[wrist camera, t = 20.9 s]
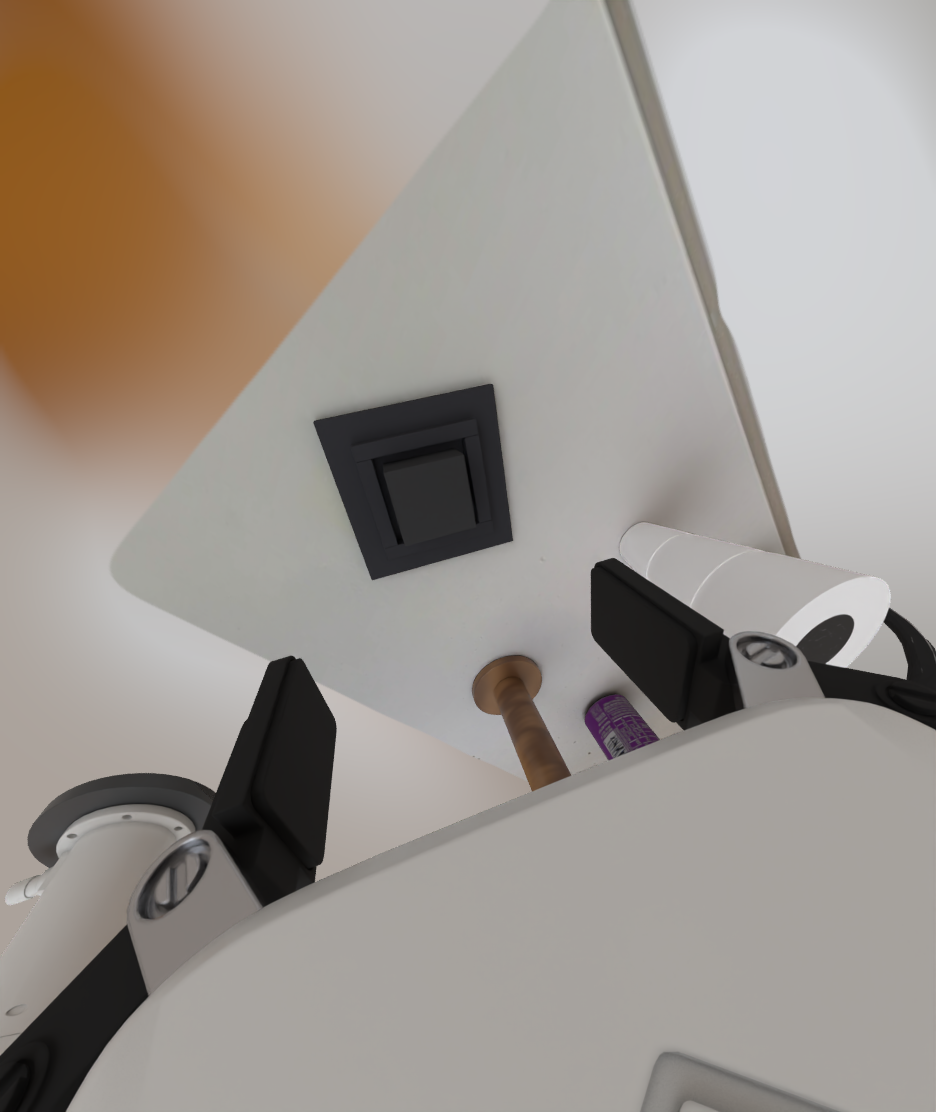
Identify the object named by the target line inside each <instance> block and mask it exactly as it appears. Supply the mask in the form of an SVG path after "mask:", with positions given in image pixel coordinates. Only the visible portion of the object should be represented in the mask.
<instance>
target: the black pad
mask: <svg viewBox="0 0 936 1112" xmlns="http://www.w3.org/2000/svg"><path fill="white" fill-rule="evenodd" d="M383 472H384V476H385V480H386V483H387V486H388V490H389V493H390V497H391V500H392V504H393V507H394V510H395V514H396V517H397V521H398V524H399V528H400V531H401V534H402V538H403V541H404V545H405V546H408V545H412V544H416V543H419V542H423V541H427V540H431V539H435V538H438V537H442V536H446V535H450V534H454V533H457V532H461V531H465V530H469V529H473V528H476V522H475V516H474V511H473V505H472V499H471V493H470V488H469V482H468V476H467V470H466V465H465V459H464V455H463V454H462V453H461V452H459V451H458V450H456V449H455V448H450V449H446V450H441V451H437V452H433V453H428V454H424V455H419V456H415V457H410V458H406V459H402V460H397V461H393V462H388V463H384V464H383Z"/></svg>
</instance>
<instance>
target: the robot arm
mask: <svg viewBox="0 0 936 1112" xmlns="http://www.w3.org/2000/svg"><path fill="white" fill-rule="evenodd" d="M591 633H592V636H593V638H594V640H595V641H596V642H597V643H598V645H599V646H600V647H601V648H602V649H603V650H604V651H605V652H606V653H607V654H608V655H609V656H610V657H611V659H612V660H613V661H614V662H615V663H616V664H617V665H618V666H619V667H620V668H621V669H622V670H623V671H624V673H625V674H626V675H627V676H628V677H629V678H630V679H631V680H632V681H633V682H634V683H635V684H636V685H637V687H638V688H639V689H640V690H641V691H642V692H643V693H644V694H645V695H646V696H647V697H648V698H649V699H650V701H651V702H652V703H653V704H654V705H655V706H656V707H657V708H658V709H659V710H660V711H661V712H662V713H663V715H664V716H665V717H666V718H667V719H668V720H669V721H671V722H677V724H678V725H679V726H680V727H681V728H682V729H683V730H684V731H682V732H679V733H676V734H674V735H671V736H669V737H666V738H664V739H661V740H659V741H656V742H654V743H651V744H649V745H646V746H644V747H641V748H639V749H636V750H634V751H631V752H629V753H626V754H624V755H621V756H619V757H616V758H614V759H611V760H609V761H606V762H604V763H601V764H599V765H596V766H594V767H591V768H589V769H586V770H584V771H581V772H579V773H577V774H574V775H572V776H569V777H567V778H564V779H562V780H559V781H557V782H554V783H552V784H549V785H547V786H544V787H542V788H540V789H537V790H535V791H532V792H530V793H527V794H525V795H523V796H520V797H517V798H515V799H513V800H510V801H508V802H505V803H503V804H500V805H498V806H496V807H493V808H491V809H488V810H486V811H483V812H481V813H478V814H476V815H474V816H471V817H469V818H466V819H464V820H461V821H459V822H456V823H454V824H452V825H449V826H447V827H444V828H442V829H439V830H437V831H435V832H432V833H430V834H427V835H425V836H422V837H420V838H418V839H415V840H413V841H411V842H408V843H406V844H403V845H401V846H398V847H396V848H393V849H391V850H389V851H386V852H384V853H381V854H379V855H377V856H374V857H372V858H370V859H367V860H365V861H363V862H360V863H358V864H356V865H354V866H352V867H349V868H347V869H345V870H342V871H340V872H337V873H335V874H333V875H331V876H328V877H326V878H324V879H321V880H319V881H317V882H315V874H316V866H317V865H320V864H321V863H322V861H323V857H324V850H325V840H326V830H327V820H328V810H329V801H330V789H331V780H332V771H333V761H334V751H335V741H336V729H337V728H336V721H335V718H334V716H333V714H332V713H331V711H330V709H329V707H328V706H327V704H326V702H325V700H324V698H323V696H322V694H321V692H320V691H319V689H318V687H317V685H316V683H315V681H314V680H313V678H312V676H311V674H310V672H309V670H308V669H307V667H306V665H305V663H304V661H303V660H302V659H301V658H299V659H296V658H295V657H294V656H288V657H285V658H282V659H278V660H275V661H272V662H270V663H269V665H268V667H267V670H266V672H265V675H264V677H263V680H262V683H261V685H260V688H259V691H258V693H257V696H256V698H255V701H254V704H253V706H252V709H251V712H250V714H249V717H248V719H247V720H246V721H245V722H244V724H243V726H242V728H241V730H240V733H239V736H238V738H237V741H236V743H235V746H234V748H233V751H232V754H231V757H230V759H229V761H228V764H227V766H226V769H225V772H224V774H223V777H222V779H221V782H220V785H219V787H218V790H217V792H216V795H215V797H214V800H213V802H212V805H211V808H210V810H209V813H208V815H207V818H206V820H205V823H204V826H203V828H202V830H199V831H196V832H195V826H194V824H193V822H192V821H191V820H190V819H189V818H188V817H187V816H186V815H184V814H182V813H181V812H179V811H176V810H174V809H171V808H168V807H164V806H159V805H151V804H127V805H118V806H112V807H108V808H104V809H100V810H97V811H94V812H92V813H89V814H87V815H85V816H83V817H81V818H79V819H78V820H76V821H75V822H73V823H72V824H71V825H70V826H69V827H68V828H67V829H66V831H65V832H64V833H63V835H62V836H61V837H60V839H59V841H58V843H57V847H56V852H57V855H58V858H59V859H58V861H57V862H56V864H55V865H54V867H51V868H49V869H48V870H46V871H45V872H44V873H43V874H42V875H38V876H34V877H31V878H29V879H26V880H23V881H20V882H17V883H15V884H14V885H13V886H12V887H11V888H10V889H9V890H8V892H7V894H6V897H5V901H6V903H7V904H8V905H14V904H17V903H20V902H23V901H25V900H28V899H31V898H33V897H35V896H36V895H39V896H40V898H39V900H38V901H37V903H36V904H35V905H34V907H33V909H32V910H31V912H30V913H29V915H28V916H27V918H26V919H25V921H24V922H23V924H22V925H21V927H20V928H19V930H18V931H17V933H16V934H15V936H14V937H13V939H12V940H11V942H10V943H9V945H8V946H7V948H6V949H5V951H4V953H3V954H2V955H1V957H0V1112H936V691H935V690H933V689H931V688H929V687H926V686H924V685H921V684H918V683H916V682H913V681H909V680H905V679H900V678H896V677H891V676H886V675H880V674H875V673H870V672H865V671H859V670H853V669H849V668H844V667H838V666H833V665H828V664H822V663H817V662H812V661H807V660H806V658H805V656H804V655H803V653H802V652H801V651H800V650H799V649H798V648H797V647H796V646H794V645H793V644H792V643H790V642H788V641H786V640H784V639H782V638H780V637H777V636H774V635H772V634H768V633H763V632H756V631H745V632H739V633H737V634H735V635H733V636H732V637H731V638H729V637H727V636H726V635H724V634H723V633H724V629H722V628H721V627H719V626H718V625H716V624H715V623H713V622H712V621H710V620H709V619H707V618H705V617H704V616H702V615H701V614H699V613H698V612H696V611H695V610H693V609H692V608H690V607H689V606H687V605H686V604H684V603H682V602H681V601H679V600H678V599H676V598H675V597H673V596H672V595H670V594H669V593H667V592H666V591H664V590H663V589H661V588H660V587H658V586H656V585H655V584H653V583H652V582H650V581H649V580H647V579H646V578H644V577H643V576H641V575H640V574H638V573H637V572H635V571H634V570H632V569H630V568H629V567H627V566H626V565H624V564H623V563H621V562H620V561H618V560H617V559H615V558H611V559H607V560H604V561H601V562H597V563H596V564H595V566H594V568H593V569H592V570H591Z"/></svg>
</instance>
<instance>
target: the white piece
mask: <svg viewBox="0 0 936 1112" xmlns="http://www.w3.org/2000/svg"><path fill="white" fill-rule="evenodd" d="M619 551H620V555H621V556H622V558H623V559H624V560H625V561H626V562H627V563H628V564H629V565H630V566H631V567H632V568H633V569H634V570H635V571H636V572H637V573H638V574H640V575H641V576H643V577H644V578H646V579H647V580H649V581H650V582H652V583H653V584H655V585H656V586H658V587H660V588H661V589H663V590H664V591H666V592H667V593H669V594H670V595H672V596H673V597H675V598H676V599H678V600H679V601H681V602H682V603H684V604H686V605H687V606H689V607H690V608H692V609H693V610H695V611H696V612H698V613H699V614H701V615H702V616H704V617H705V618H707V619H709V620H710V621H712V622H713V623H715V624H716V625H718V626H719V627H721V628H722V629H724V633H723V634H724V635H726V636H727V637H729V638H731V637H732V636H733V635H735V634H737V633H739V632H745V631H756V632H763V633H768V634H772V635H774V636H777V637H780V638H782V639H784V640H786V641H788V642H790V643H792V644H793V645H794V646H796V647H797V648H798V649H799V650H800V651H801V652H802V653H803V655H804V656H805V658H806V660H807V661H812V662H817V663H822V664H828V665H833V666H838V667H844V668H846V667H848V666H849V665H850V664H851V663H852V662H853V661H854V660H855V659H856V658H857V657H858V656H859V655H860V654H861V653H862V651H863V650H864V649H865V648H866V647H867V646H868V644H869V643H870V642H871V640H872V639H873V638H874V636H875V635H876V633H877V632H878V630H879V629H880V627H881V625H882V623H883V621H884V619H885V617H886V615H887V612H888V609H889V605H890V600H891V593H890V589H889V586H888V585H887V583H886V582H885V581H884V580H882V579H880V578H877V577H873V576H869V575H865V574H861V573H857V572H852V571H848V570H844V569H840V568H836V567H832V566H827V565H823V564H819V563H814V562H811V561H807V560H802V559H798V558H794V557H790V556H786V555H782V554H777V553H768V552H767V551H764V550H760V549H756V548H751V547H747V546H743V545H739V544H734V543H730V542H726V541H721V540H717V539H713V538H709V537H704V536H700V535H695V534H693V533H689V532H684V531H680V530H676V529H672V528H668V527H664V526H660V525H656V524H651V523H647V522H642V523H638V524H636V525H634V526H632V527H631V528H630V529H628V530H627V532H626V533H625V534H624V535H623V537H622V539H621V542H620V546H619Z"/></svg>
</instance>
